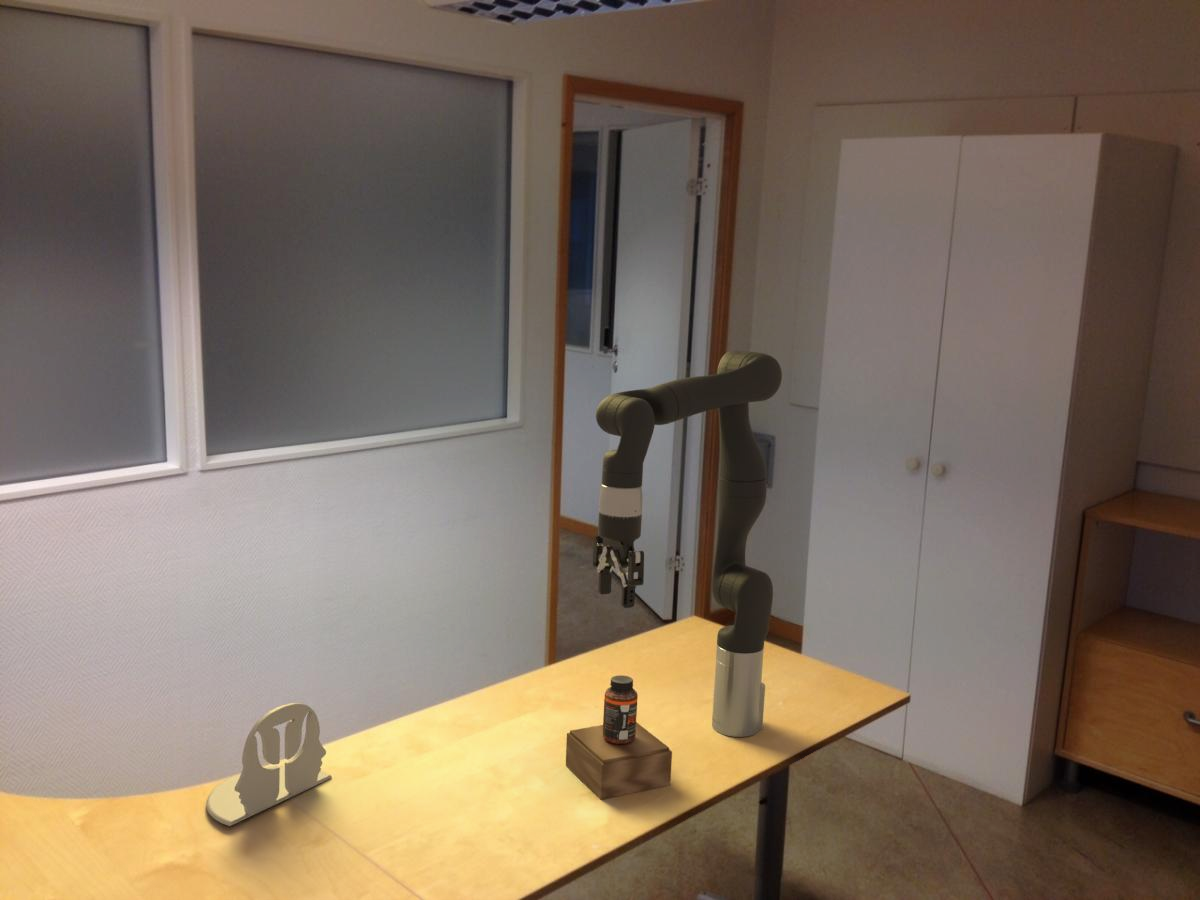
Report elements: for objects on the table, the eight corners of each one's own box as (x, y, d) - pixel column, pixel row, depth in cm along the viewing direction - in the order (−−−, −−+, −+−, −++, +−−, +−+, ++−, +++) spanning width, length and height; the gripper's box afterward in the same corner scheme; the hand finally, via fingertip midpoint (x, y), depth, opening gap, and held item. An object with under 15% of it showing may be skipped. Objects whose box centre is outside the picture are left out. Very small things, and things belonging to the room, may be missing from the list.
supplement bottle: (632, 747, 196) (635, 686, 195) (599, 743, 197) (602, 683, 196) (637, 734, 202) (640, 674, 200) (605, 730, 203) (608, 671, 201)
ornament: (230, 827, 178) (228, 728, 175) (178, 802, 185) (176, 707, 182) (333, 777, 196) (333, 687, 193) (282, 757, 203) (282, 669, 200)
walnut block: (632, 753, 210) (633, 718, 209) (670, 785, 198) (672, 748, 197) (565, 766, 204) (567, 730, 203) (600, 799, 192) (602, 761, 190)
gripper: (660, 517, 189) (654, 609, 191) (619, 500, 201) (615, 587, 203) (621, 520, 185) (616, 614, 188) (582, 503, 197) (578, 591, 200)
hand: (615, 600), depth 196 cm, fingers open, 8 cm apart
